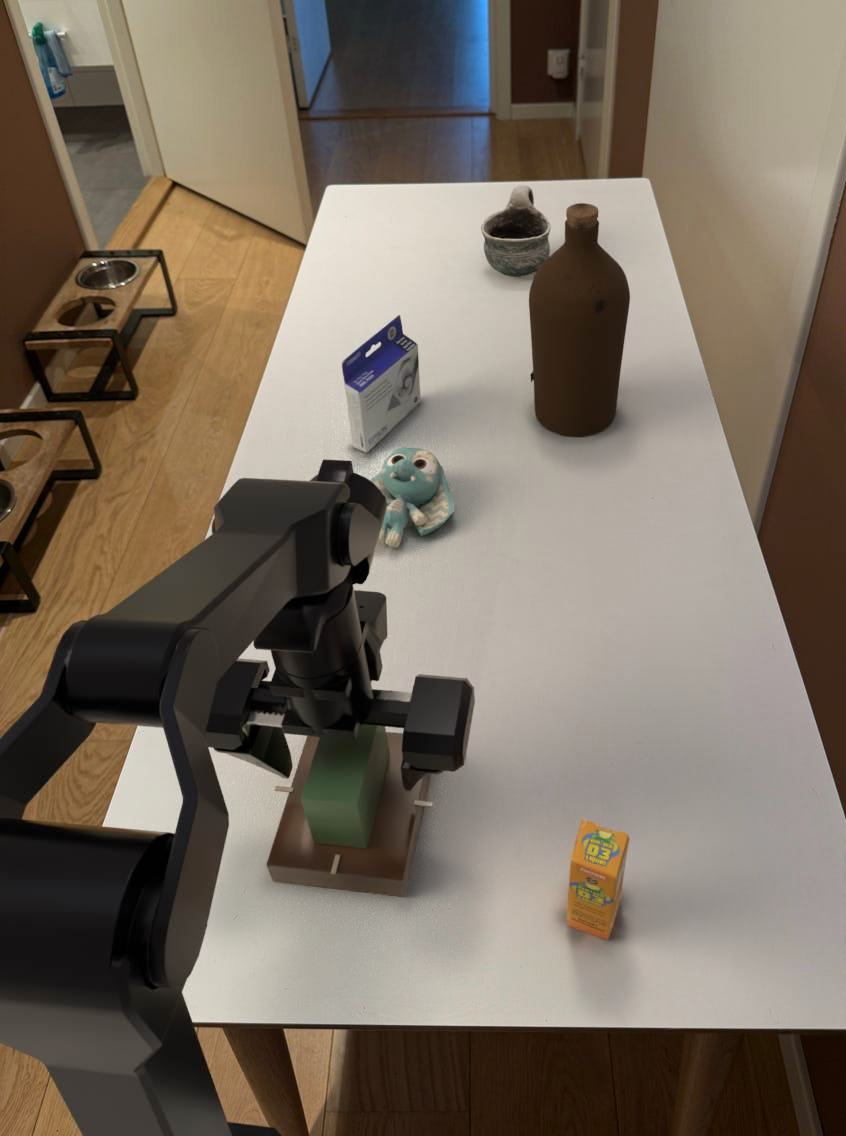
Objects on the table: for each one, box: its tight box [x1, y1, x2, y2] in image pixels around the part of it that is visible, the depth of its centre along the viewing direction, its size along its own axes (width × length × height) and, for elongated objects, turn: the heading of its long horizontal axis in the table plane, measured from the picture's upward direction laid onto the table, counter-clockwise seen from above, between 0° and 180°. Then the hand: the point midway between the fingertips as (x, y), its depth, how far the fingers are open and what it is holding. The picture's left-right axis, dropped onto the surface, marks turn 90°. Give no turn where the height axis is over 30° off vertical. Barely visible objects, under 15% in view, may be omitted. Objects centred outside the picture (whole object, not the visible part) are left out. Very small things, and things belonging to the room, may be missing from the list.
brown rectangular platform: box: [266, 731, 434, 898], centre depth 73 cm, size 12×12×3 cm
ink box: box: [341, 314, 421, 454], centre depth 107 cm, size 12×2×12 cm, turn 149°
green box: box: [301, 724, 390, 849], centre depth 70 cm, size 8×4×6 cm, turn 172°
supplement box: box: [566, 818, 630, 941], centre depth 64 cm, size 3×3×10 cm
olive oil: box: [528, 202, 631, 438], centre depth 103 cm, size 11×11×25 cm
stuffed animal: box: [369, 446, 455, 548], centre depth 97 cm, size 11×7×12 cm
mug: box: [480, 185, 552, 278], centre depth 135 cm, size 10×12×10 cm
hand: (348, 778), depth 70 cm, fingers open, 9 cm apart
